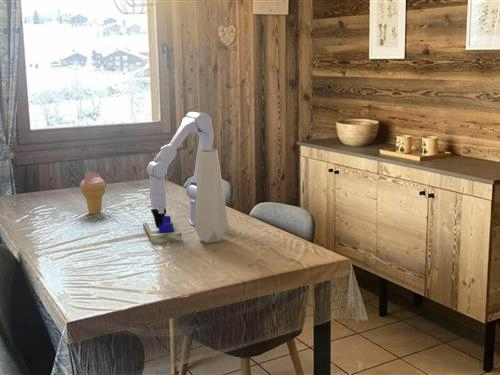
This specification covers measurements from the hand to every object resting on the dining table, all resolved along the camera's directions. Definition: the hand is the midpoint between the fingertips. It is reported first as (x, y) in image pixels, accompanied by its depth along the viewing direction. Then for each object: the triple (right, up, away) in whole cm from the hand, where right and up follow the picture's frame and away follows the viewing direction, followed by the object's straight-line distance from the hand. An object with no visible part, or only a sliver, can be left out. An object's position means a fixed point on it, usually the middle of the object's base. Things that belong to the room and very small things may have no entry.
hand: (159, 227), depth 234 cm
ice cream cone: (-32, +4, +27) cm, 42 cm away
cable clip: (+4, -3, -7) cm, 8 cm away
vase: (+21, -4, -12) cm, 25 cm away
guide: (+1, -2, -4) cm, 5 cm away
